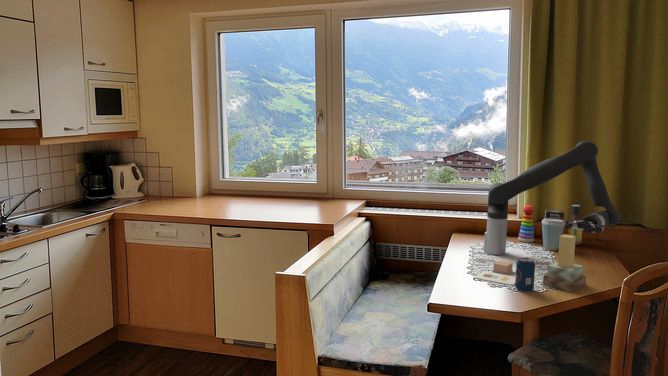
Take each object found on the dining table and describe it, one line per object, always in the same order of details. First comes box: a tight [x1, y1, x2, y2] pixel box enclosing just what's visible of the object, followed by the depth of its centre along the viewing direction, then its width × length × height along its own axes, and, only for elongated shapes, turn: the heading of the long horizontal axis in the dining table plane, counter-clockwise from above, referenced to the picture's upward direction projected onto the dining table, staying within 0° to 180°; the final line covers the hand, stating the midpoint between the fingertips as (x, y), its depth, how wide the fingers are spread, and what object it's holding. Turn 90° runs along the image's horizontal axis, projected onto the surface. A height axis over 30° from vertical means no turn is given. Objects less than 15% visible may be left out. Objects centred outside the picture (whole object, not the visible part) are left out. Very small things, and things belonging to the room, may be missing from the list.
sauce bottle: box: [567, 204, 583, 246], centre depth 292 cm, size 7×6×20 cm
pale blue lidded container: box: [544, 208, 565, 235], centre depth 297 cm, size 9×6×16 cm
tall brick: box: [557, 234, 576, 268], centre depth 227 cm, size 4×4×12 cm
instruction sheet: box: [473, 270, 516, 286], centre depth 237 cm, size 16×11×1 cm
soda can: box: [514, 256, 536, 293], centre depth 223 cm, size 7×7×12 cm
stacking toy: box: [517, 204, 535, 243], centre depth 297 cm, size 8×8×19 cm
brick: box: [492, 259, 514, 275], centre depth 246 cm, size 6×6×4 cm
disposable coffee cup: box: [541, 218, 566, 251], centre depth 282 cm, size 11×11×15 cm
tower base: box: [542, 260, 587, 293], centre depth 229 cm, size 12×12×8 cm
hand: (577, 228), depth 236 cm, fingers open, 8 cm apart
